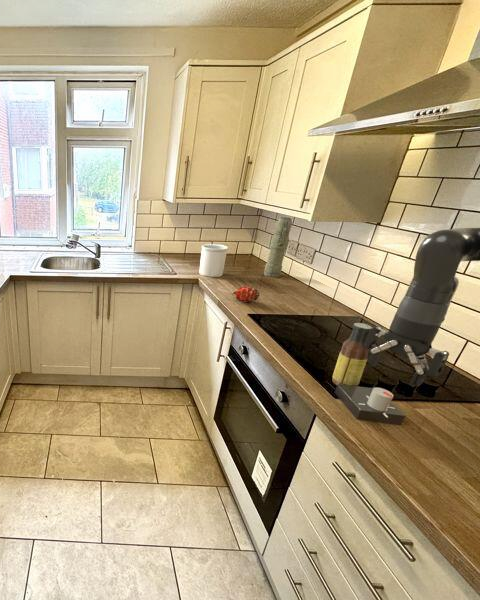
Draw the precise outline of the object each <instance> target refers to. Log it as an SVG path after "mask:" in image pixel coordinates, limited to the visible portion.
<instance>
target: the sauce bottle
mask: <svg viewBox="0 0 480 600" xmlns="http://www.w3.org/2000/svg"><path fill="white" fill-rule="evenodd" d="M352 325H353V326H352V330H351V334H350V336H349V338H347V339H346V340H344V341H343V343H342V346H341V350H340V351H339V354H338V358H337V360H336V364H335V367H334V370H333V373H332V383H333V384H334V385H336V386H337V385H338V384H341V385H350V386H358V387H359V385H360V382H361V380H362V376H363V374H364V370H365V367H366V365H367V363H368V361H367V360H368V358H369V355H370V350H369V349H368V348H365V347H364V343H365V341H366V339H367V337H368V335H369V333H370V331H371V329H372V328H373V327H372V326H371V325H370V324H367V323H362V322H355V323H354V324H352Z"/></svg>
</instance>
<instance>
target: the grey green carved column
mask: <svg viewBox="0 0 480 600" xmlns="http://www.w3.org/2000/svg"><path fill="white" fill-rule="evenodd" d="M292 225H293V219H292V218H291V217H284V216H282V217H279V218H278V220H277V222H276V225H275V228H274V229H275V230H274V231H275V232H274V233H273V236H272V237H271V241H270V246H269V248H270V249H269V253H268V257H267V262H266V263H265V265H264V272H263V276H265V277H267V278H273V279H274V278H275V279H276V278H277V279H278V278H280V276H281V273H282V269H283V261H284V259H285V254H286V250H287V249H288V245H289V242H290V232H291V230H292Z"/></svg>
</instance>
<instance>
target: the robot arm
mask: <svg viewBox="0 0 480 600" xmlns="http://www.w3.org/2000/svg"><path fill="white" fill-rule="evenodd" d="M461 262H480V227H460V228H458V227H457V228H448V229H440V230H437V231H434V232H431V233H430V234H428V235H427V236H426V237H424V239H423V240H422V241H421V242H420V244H419V247H418V249H417V251H416V255H415V260H414V267H413V276H412V279H411V281H410V283H409V285H408V288H407V289H406V292H405V294H404V296H403V298H402V299H401V301H400V302H399V304H398V306H397V310H396V312H395V314H394V316H393V319H392V321H391V324H390V326H389V329H388V330H387V329H384V327H383V326H381V325H379V326H375V327H372V329H371V331H370V333H369V335H368V337H367V339H366V341H365V343H364V347H365V348H368V349H369V355H368V359H367V363H368V367H371V368H374V367H377V365H378V363H379V362H380V359H381V357H382V352H384V351H385V352H386V351H387V350H389V351H390V353H393V354H397V355H399V356H401V357H403V358H405V359H409V361H410V363H411V365H413V367H414V369H415V372H414V373H413V375H412V377H411V378H410V381H409V382H408V386H410V387H412V388H414V387H419V386H421V385H422V384H423V383H424V381H425V379H426V377H427V376H429V377H431V378H434V377H436V376H441V374H442V373H443V372H444V371H443V370H444V369H445V366H446V364H447V361H448V358H449V356H450V352H449V351H447V350H440V349H436V348H433V346H432V344H433V342H434V340H435V338H436V336H437V334H438V333H439V331H440V330H439V329H440V328H441V326H442V324H443V322H444V321H445V320H446V316H447V313H448V310H449V307H450V303H451V301H452V300H453V298H454V296H455V294H456V292H457V290H458V287H459V283H460V282H459V279H458V277H456V274H457V271H458V269H459V266H460V263H461ZM383 336H384V340H385V343H383V344H380V345H377V343H378V341H379V339H380V337H383ZM425 354H430V358H431V359H432V360H431V364H430V366H429V365H428V360H427V358H426V355H425Z"/></svg>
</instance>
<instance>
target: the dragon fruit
mask: <svg viewBox="0 0 480 600" xmlns="http://www.w3.org/2000/svg"><path fill="white" fill-rule="evenodd" d="M232 295H234V299H236V300H238V301H240V302H242V301H243V303H244V304H245V303H251V302H252V301H256V302H257V300H258V299H259V297H260V292H259V291H258V289H256V288H254V287H253V286H252V285H250V286H247V285H244V286H241V287H238V289H236V290H235V291H233V293H232Z"/></svg>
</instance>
